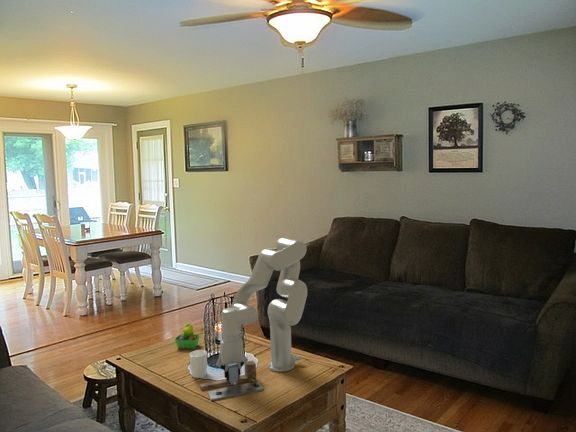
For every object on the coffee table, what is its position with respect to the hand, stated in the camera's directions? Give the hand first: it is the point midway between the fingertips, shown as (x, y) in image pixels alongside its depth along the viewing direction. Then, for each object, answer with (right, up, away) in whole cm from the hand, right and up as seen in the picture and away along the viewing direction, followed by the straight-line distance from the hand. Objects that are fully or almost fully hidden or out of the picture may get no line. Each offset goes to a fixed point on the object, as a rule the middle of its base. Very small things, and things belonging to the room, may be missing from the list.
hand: (232, 377), depth 205 cm
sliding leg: (0, -2, -1) cm, 2 cm away
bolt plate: (+2, -3, -8) cm, 9 cm away
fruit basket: (-28, +2, +43) cm, 51 cm away
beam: (-1, -3, -1) cm, 3 cm away
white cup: (-16, -2, +9) cm, 19 cm away
